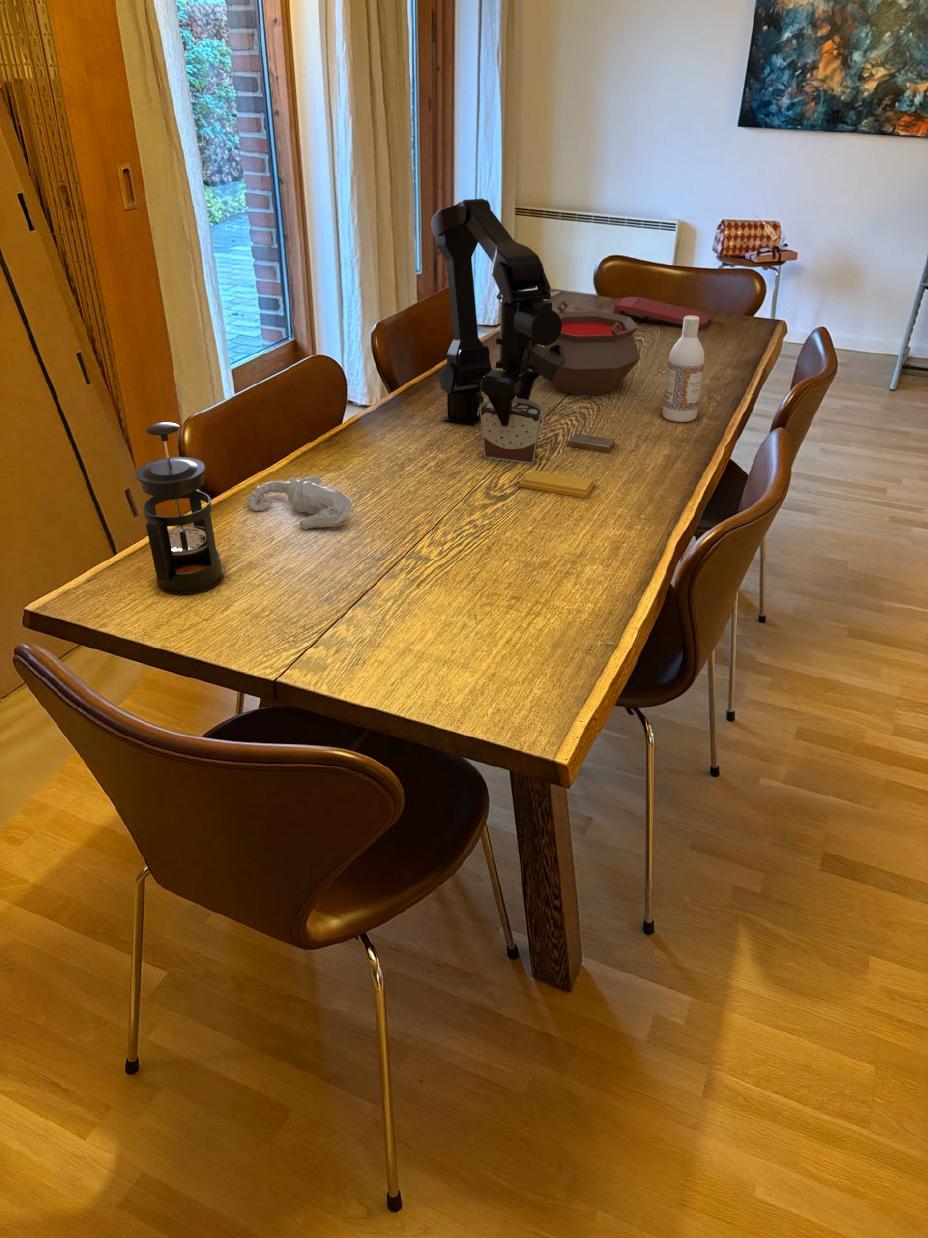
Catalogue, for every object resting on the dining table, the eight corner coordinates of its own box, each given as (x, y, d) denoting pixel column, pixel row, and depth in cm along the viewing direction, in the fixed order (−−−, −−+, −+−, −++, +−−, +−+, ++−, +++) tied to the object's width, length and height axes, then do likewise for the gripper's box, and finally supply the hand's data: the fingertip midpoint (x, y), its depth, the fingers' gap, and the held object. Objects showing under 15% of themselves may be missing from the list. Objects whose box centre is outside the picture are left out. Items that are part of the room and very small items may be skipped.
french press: (181, 557, 137) (153, 408, 125) (238, 565, 135) (215, 415, 122) (137, 596, 127) (101, 439, 115) (197, 606, 125) (167, 447, 113)
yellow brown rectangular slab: (518, 486, 158) (519, 479, 157) (528, 476, 162) (529, 468, 161) (585, 498, 154) (586, 490, 153) (594, 487, 158) (594, 479, 157)
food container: (549, 452, 171) (552, 400, 166) (541, 465, 166) (543, 412, 161) (486, 444, 174) (487, 393, 169) (476, 456, 170) (477, 404, 164)
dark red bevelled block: (706, 331, 254) (619, 310, 259) (711, 313, 251) (623, 292, 256) (700, 343, 244) (610, 320, 249) (705, 325, 241) (614, 302, 246)
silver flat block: (567, 446, 174) (568, 440, 173) (574, 439, 177) (574, 433, 176) (608, 452, 171) (609, 446, 170) (614, 445, 174) (615, 439, 174)
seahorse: (226, 513, 147) (335, 516, 139) (256, 465, 154) (361, 465, 146) (240, 536, 151) (346, 539, 143) (268, 488, 157) (371, 489, 150)
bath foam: (678, 425, 183) (692, 323, 172) (654, 415, 188) (665, 315, 177) (703, 418, 186) (718, 318, 175) (679, 409, 191) (691, 310, 180)
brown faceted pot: (660, 392, 200) (668, 316, 191) (565, 409, 191) (570, 330, 182) (599, 363, 218) (604, 292, 209) (510, 377, 209) (512, 303, 200)
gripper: (542, 350, 148) (538, 441, 157) (577, 322, 163) (572, 407, 171) (479, 342, 152) (478, 432, 160) (519, 315, 166) (516, 399, 175)
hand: (514, 417), depth 166 cm, fingers open, 9 cm apart
